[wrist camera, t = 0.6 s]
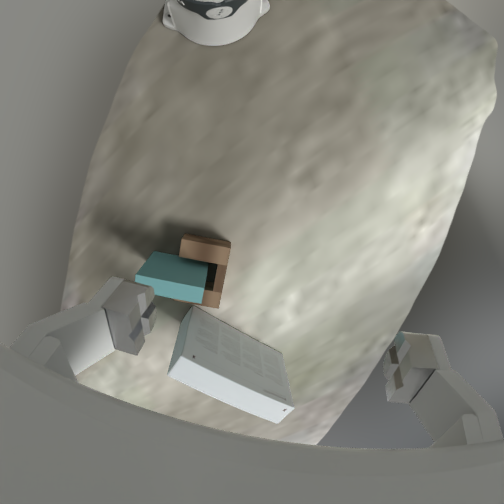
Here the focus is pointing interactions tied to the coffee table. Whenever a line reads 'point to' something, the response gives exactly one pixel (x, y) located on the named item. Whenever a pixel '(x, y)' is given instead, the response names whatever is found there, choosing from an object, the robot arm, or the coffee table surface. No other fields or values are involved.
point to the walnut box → (211, 253)
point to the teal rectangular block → (174, 276)
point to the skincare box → (231, 367)
